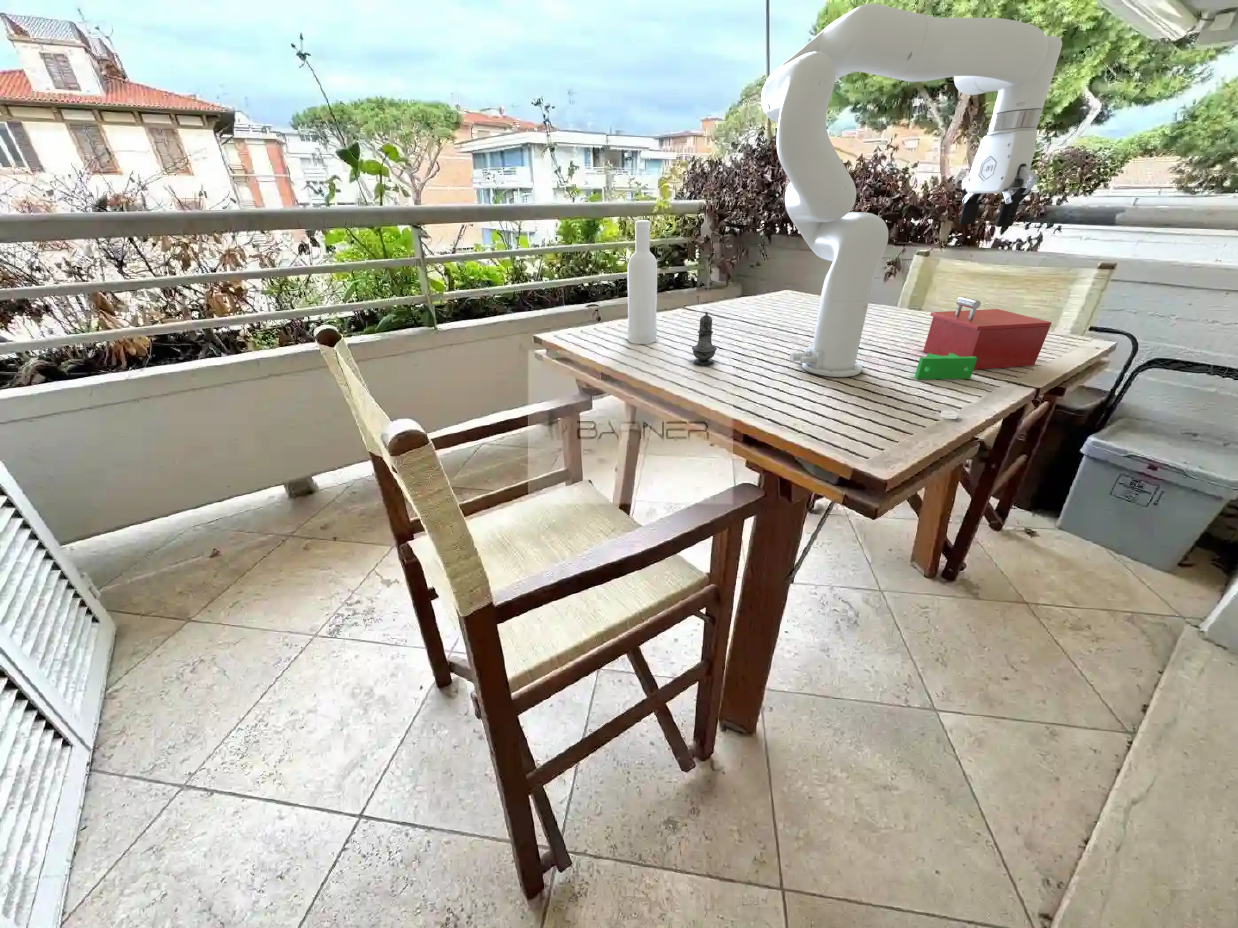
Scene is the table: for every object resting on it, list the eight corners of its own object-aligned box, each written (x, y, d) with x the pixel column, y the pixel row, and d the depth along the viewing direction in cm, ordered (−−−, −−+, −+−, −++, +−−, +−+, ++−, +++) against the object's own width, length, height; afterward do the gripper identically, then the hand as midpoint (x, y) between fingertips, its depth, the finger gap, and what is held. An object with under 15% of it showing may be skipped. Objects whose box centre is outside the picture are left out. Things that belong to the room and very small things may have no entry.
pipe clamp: (959, 373, 106) (966, 352, 104) (970, 379, 102) (977, 358, 100) (908, 373, 106) (914, 353, 104) (916, 379, 103) (923, 358, 100)
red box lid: (976, 330, 103) (985, 305, 100) (929, 315, 116) (936, 293, 113) (1050, 326, 105) (1060, 301, 102) (996, 312, 117) (1004, 290, 115)
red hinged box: (967, 370, 107) (980, 330, 103) (922, 351, 120) (933, 315, 116) (1034, 365, 109) (1050, 326, 105) (983, 348, 122) (996, 312, 117)
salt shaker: (688, 365, 114) (690, 313, 109) (694, 358, 119) (697, 308, 113) (712, 367, 112) (716, 315, 107) (718, 360, 117) (722, 309, 111)
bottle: (622, 341, 134) (620, 221, 120) (639, 335, 140) (639, 219, 125) (644, 346, 130) (645, 221, 115) (662, 339, 135) (664, 220, 120)
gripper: (960, 130, 98) (937, 224, 106) (1035, 118, 83) (1001, 228, 91) (994, 129, 99) (969, 222, 107) (1074, 117, 84) (1037, 226, 92)
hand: (984, 225), depth 99 cm, fingers open, 9 cm apart
